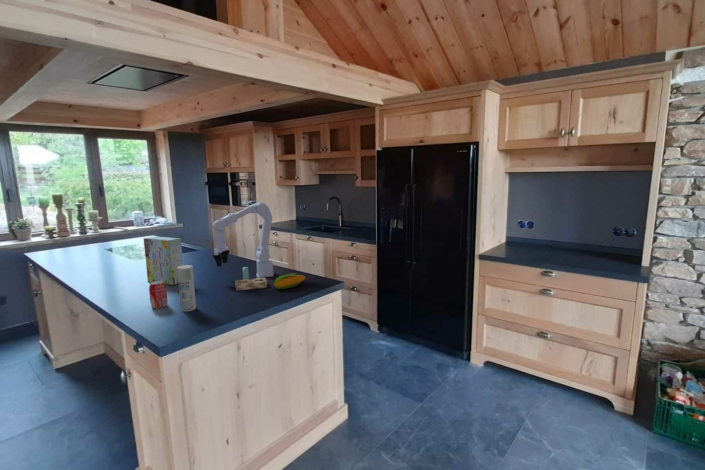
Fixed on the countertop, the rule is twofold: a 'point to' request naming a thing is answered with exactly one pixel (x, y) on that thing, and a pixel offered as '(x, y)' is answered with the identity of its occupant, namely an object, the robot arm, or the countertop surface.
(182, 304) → the spray can
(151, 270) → the snack box
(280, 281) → the corn
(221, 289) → the countertop surface
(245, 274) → the peg
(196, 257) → the countertop surface
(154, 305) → the soda can
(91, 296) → the countertop surface
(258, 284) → the hole block
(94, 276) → the countertop surface
